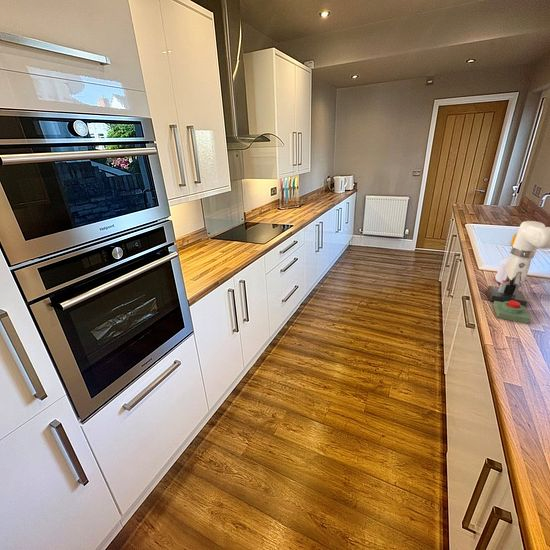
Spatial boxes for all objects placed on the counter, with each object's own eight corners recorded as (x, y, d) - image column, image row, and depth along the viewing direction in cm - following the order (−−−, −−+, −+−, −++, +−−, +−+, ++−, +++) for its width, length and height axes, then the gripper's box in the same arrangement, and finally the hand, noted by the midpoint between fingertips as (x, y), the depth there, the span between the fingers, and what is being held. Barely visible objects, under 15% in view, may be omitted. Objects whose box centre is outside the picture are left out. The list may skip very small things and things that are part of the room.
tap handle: (515, 293, 124) (519, 282, 122) (516, 295, 123) (520, 284, 120) (498, 290, 127) (502, 279, 124) (499, 292, 125) (503, 281, 123)
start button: (517, 305, 115) (519, 301, 114) (519, 309, 112) (521, 305, 111) (506, 303, 116) (508, 299, 115) (508, 307, 113) (510, 303, 112)
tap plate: (518, 296, 127) (521, 290, 126) (524, 307, 119) (527, 301, 118) (486, 291, 132) (488, 285, 131) (490, 301, 124) (492, 295, 123)
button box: (522, 310, 118) (525, 302, 116) (529, 323, 110) (533, 314, 108) (492, 305, 122) (495, 296, 120) (497, 317, 114) (500, 308, 112)
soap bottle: (520, 287, 135) (540, 236, 124) (497, 284, 138) (515, 234, 127) (514, 278, 143) (532, 230, 132) (492, 276, 146) (508, 229, 135)
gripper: (540, 260, 108) (523, 302, 116) (528, 247, 121) (513, 285, 129) (515, 257, 111) (500, 299, 119) (507, 244, 124) (493, 282, 132)
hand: (507, 291), depth 124 cm, fingers closed on tap handle, 2 cm apart
